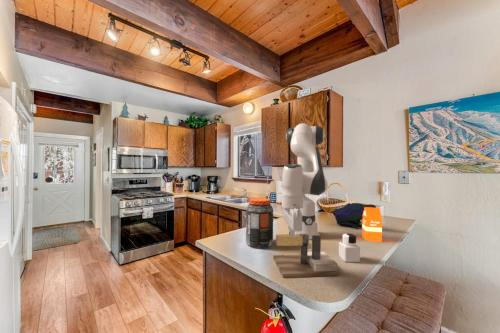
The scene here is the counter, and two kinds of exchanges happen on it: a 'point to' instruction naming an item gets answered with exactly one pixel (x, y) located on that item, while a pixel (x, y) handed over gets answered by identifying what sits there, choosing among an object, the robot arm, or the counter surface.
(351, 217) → the navy cloth bag
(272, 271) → the counter surface
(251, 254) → the counter surface
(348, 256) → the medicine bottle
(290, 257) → the lock plate
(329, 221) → the counter surface
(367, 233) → the orange juice
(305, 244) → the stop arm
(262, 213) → the supplement tub
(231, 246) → the counter surface
